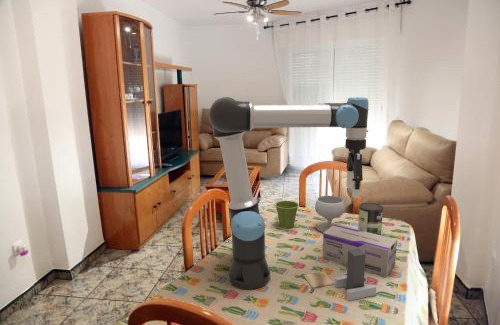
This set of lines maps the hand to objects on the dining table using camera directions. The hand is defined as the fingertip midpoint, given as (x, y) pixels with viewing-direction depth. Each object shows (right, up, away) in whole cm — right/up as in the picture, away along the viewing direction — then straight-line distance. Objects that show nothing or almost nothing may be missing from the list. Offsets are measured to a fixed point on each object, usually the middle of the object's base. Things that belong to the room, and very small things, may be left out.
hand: (352, 191), depth 132 cm
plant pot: (-22, -20, +35) cm, 46 cm away
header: (-5, -31, -19) cm, 37 cm away
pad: (-16, -30, -13) cm, 37 cm away
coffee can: (+14, -22, +22) cm, 34 cm away
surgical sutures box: (+2, -28, 0) cm, 28 cm away
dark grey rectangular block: (-5, -31, -19) cm, 37 cm away
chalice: (-2, -21, +30) cm, 37 cm away
